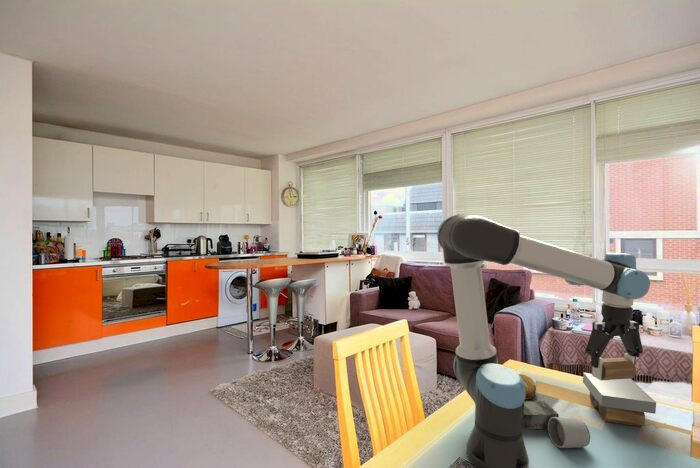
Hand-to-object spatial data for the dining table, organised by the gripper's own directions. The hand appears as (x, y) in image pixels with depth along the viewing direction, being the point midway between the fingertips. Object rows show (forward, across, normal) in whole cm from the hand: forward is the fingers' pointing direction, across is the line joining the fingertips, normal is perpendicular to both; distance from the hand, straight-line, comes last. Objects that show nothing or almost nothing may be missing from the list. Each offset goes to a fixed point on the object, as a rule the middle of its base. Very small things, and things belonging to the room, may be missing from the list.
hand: (612, 376), depth 108 cm
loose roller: (0, 0, 0) cm, 0 cm away
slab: (+10, +8, +6) cm, 14 cm away
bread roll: (+16, -16, +20) cm, 30 cm away
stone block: (+16, -23, +6) cm, 29 cm away
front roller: (+16, +6, +2) cm, 17 cm away
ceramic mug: (+16, -19, -5) cm, 25 cm away
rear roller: (+16, +10, +10) cm, 21 cm away
